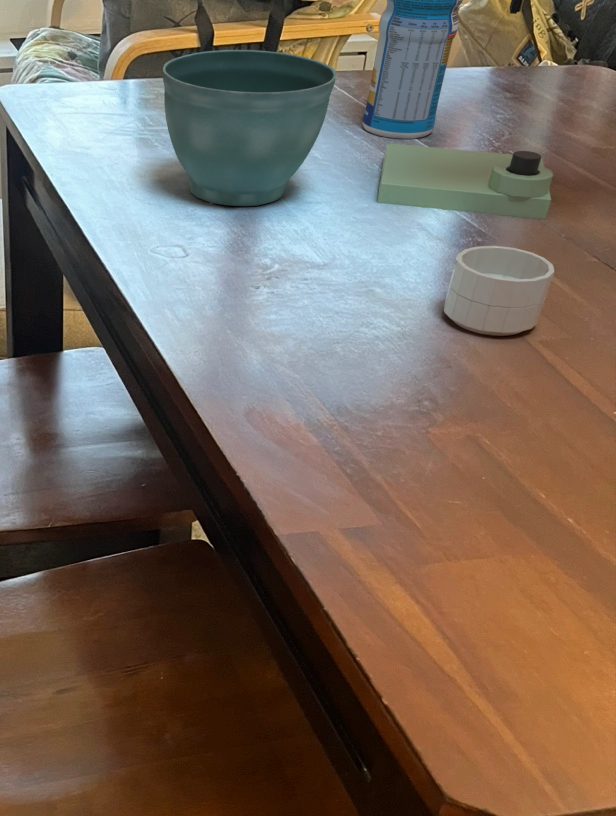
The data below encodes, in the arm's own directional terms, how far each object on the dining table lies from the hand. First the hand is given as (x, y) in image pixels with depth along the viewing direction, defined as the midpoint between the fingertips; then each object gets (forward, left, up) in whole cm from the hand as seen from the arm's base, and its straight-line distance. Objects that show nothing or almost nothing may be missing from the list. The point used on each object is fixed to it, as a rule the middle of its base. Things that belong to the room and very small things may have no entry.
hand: (574, 16), depth 87 cm
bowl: (+3, +22, -17) cm, 28 cm away
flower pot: (+27, -3, -17) cm, 32 cm away
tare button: (0, -7, -14) cm, 16 cm away
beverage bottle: (+12, -31, -17) cm, 38 cm away
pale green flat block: (+5, -11, -17) cm, 21 cm away
